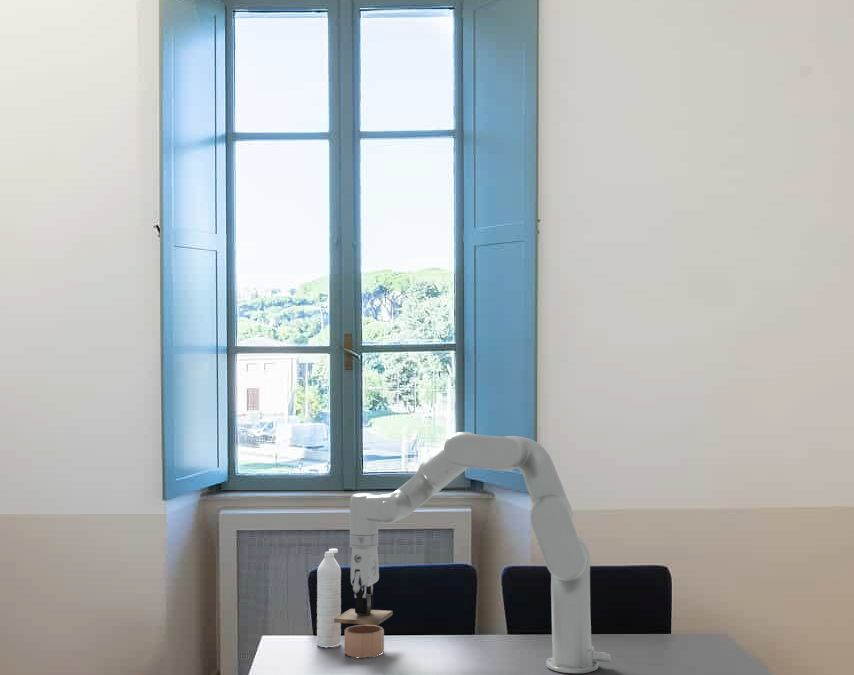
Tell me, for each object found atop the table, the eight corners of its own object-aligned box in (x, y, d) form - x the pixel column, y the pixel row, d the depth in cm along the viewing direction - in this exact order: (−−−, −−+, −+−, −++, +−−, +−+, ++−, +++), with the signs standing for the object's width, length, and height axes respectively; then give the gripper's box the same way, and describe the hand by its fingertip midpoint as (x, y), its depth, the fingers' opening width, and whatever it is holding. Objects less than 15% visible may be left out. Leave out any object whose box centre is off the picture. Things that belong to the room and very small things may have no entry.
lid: (392, 614, 225) (392, 591, 225) (378, 625, 213) (378, 600, 214) (350, 612, 228) (350, 589, 229) (334, 622, 217) (334, 598, 217)
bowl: (388, 649, 223) (388, 625, 224) (376, 659, 214) (376, 635, 214) (352, 646, 226) (352, 623, 226) (339, 656, 216) (339, 632, 217)
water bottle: (337, 649, 224) (337, 553, 226) (313, 648, 225) (314, 553, 227) (345, 640, 232) (345, 548, 235) (323, 639, 233) (323, 548, 236)
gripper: (367, 545, 214) (366, 619, 212) (387, 537, 230) (387, 605, 228) (339, 544, 216) (339, 618, 214) (361, 536, 232) (361, 604, 230)
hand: (363, 610), depth 221 cm, fingers closed on lid, 3 cm apart
